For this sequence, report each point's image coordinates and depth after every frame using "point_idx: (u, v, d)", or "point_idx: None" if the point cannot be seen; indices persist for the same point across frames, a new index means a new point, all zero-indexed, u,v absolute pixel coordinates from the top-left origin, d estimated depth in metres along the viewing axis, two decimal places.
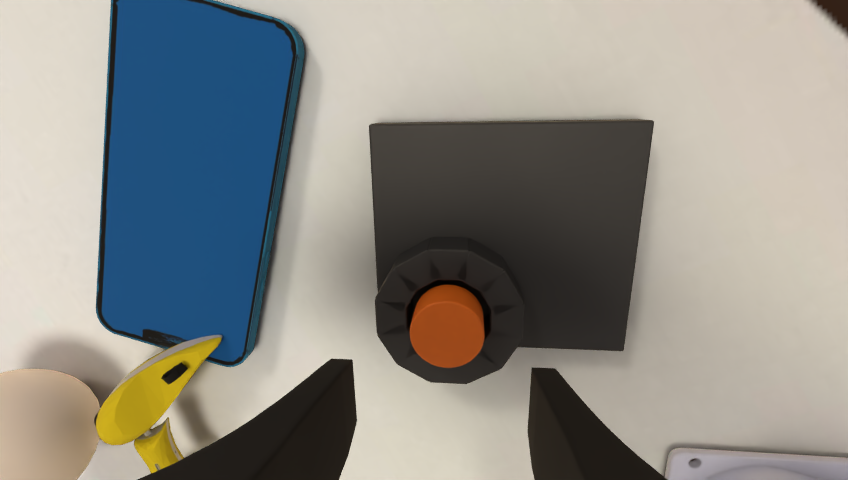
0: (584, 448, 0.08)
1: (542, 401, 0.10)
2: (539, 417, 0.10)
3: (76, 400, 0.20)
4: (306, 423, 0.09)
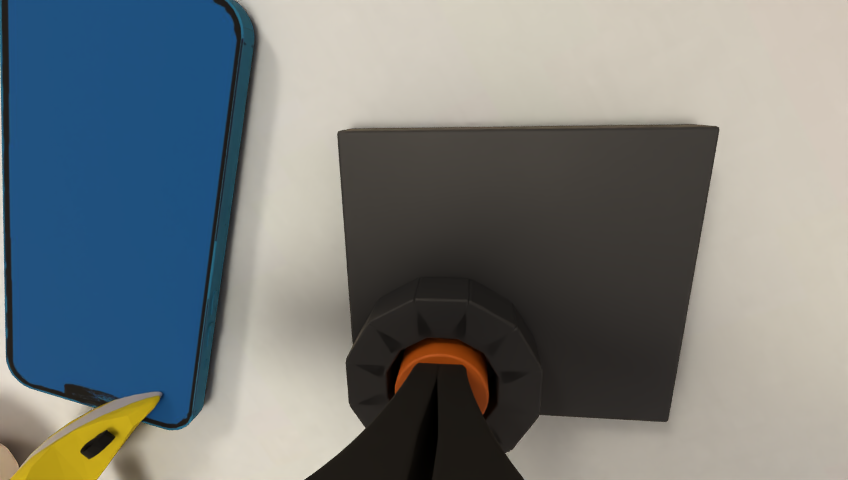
0: (450, 440, 0.08)
1: None
2: (437, 411, 0.11)
3: None
4: (421, 430, 0.09)
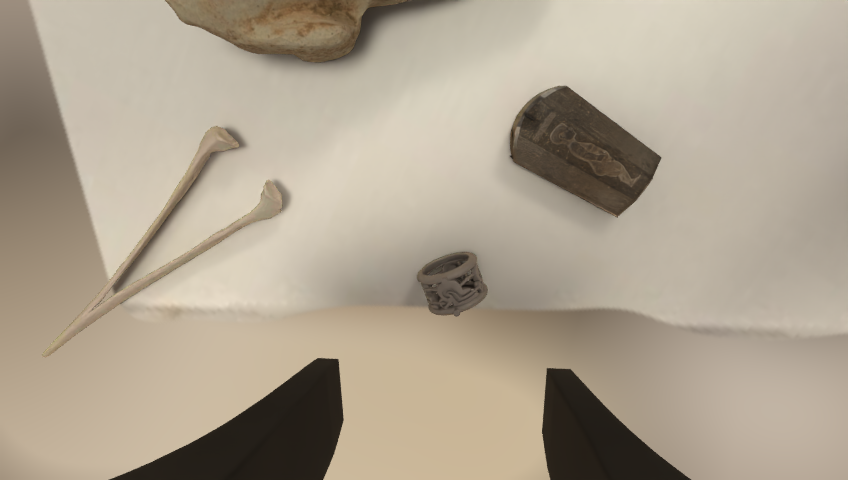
0: (607, 449, 0.08)
1: (560, 402, 0.10)
2: (556, 418, 0.10)
3: None
4: (288, 422, 0.09)
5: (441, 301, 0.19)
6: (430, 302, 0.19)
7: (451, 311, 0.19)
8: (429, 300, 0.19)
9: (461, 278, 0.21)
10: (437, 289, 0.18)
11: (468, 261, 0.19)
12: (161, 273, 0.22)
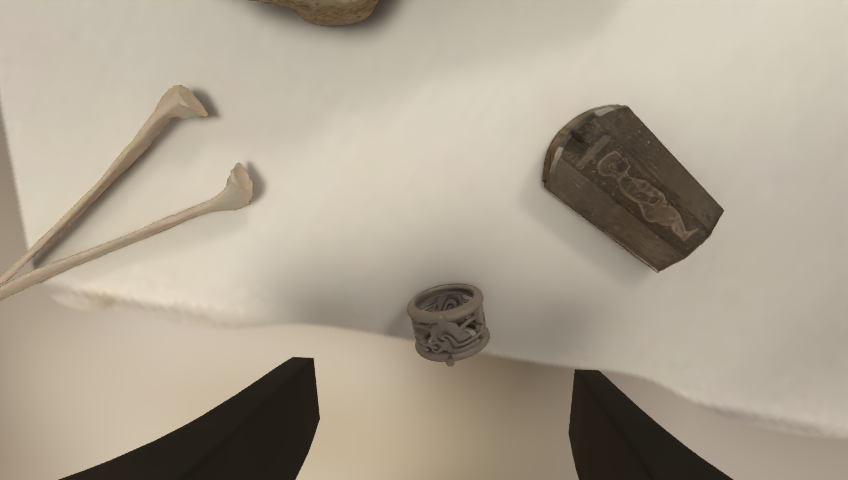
0: (648, 452, 0.08)
1: (592, 404, 0.10)
2: (587, 420, 0.10)
3: None
4: (256, 420, 0.09)
5: (433, 344, 0.15)
6: (419, 342, 0.16)
7: (444, 358, 0.15)
8: (418, 339, 0.16)
9: None
10: (430, 329, 0.15)
11: (473, 300, 0.15)
12: (90, 256, 0.17)
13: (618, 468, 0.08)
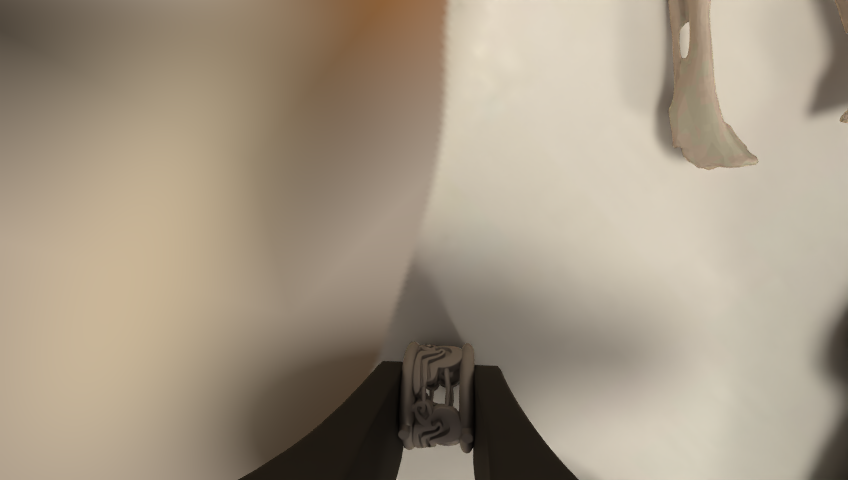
0: (501, 443, 0.08)
1: (477, 398, 0.10)
2: (476, 413, 0.10)
3: None
4: (374, 427, 0.09)
5: (426, 407, 0.11)
6: (424, 375, 0.11)
7: (405, 417, 0.11)
8: (427, 373, 0.11)
9: None
10: (450, 408, 0.11)
11: None
12: None
13: (484, 459, 0.09)
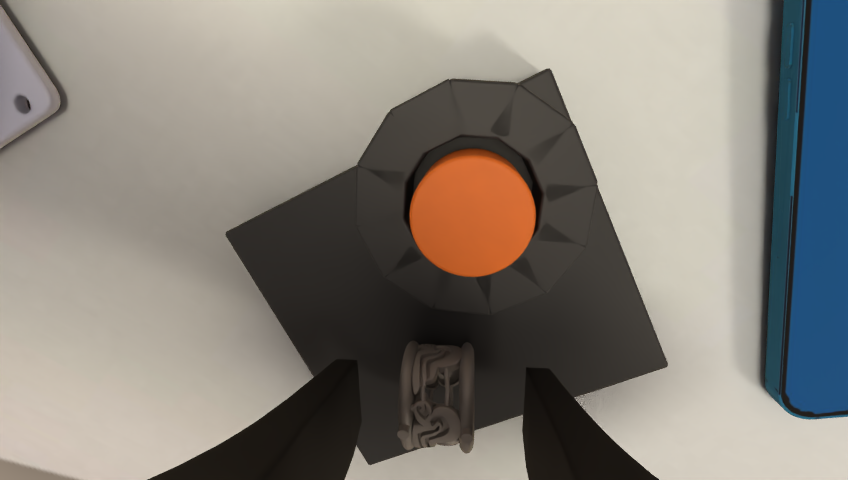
0: (576, 448, 0.08)
1: (536, 401, 0.10)
2: (533, 417, 0.10)
3: None
4: (313, 423, 0.09)
5: (425, 406, 0.11)
6: (423, 375, 0.11)
7: (404, 417, 0.11)
8: (427, 373, 0.11)
9: None
10: (449, 408, 0.11)
11: None
12: None
13: (553, 464, 0.09)
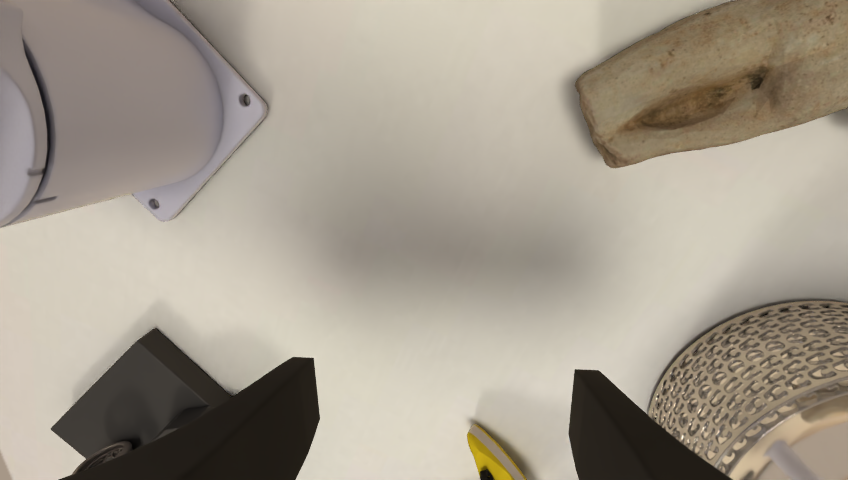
0: (648, 452, 0.08)
1: (592, 404, 0.10)
2: (587, 420, 0.10)
3: None
4: (256, 420, 0.09)
5: None
6: None
7: None
8: None
9: None
10: None
11: None
12: None
13: (618, 468, 0.08)
